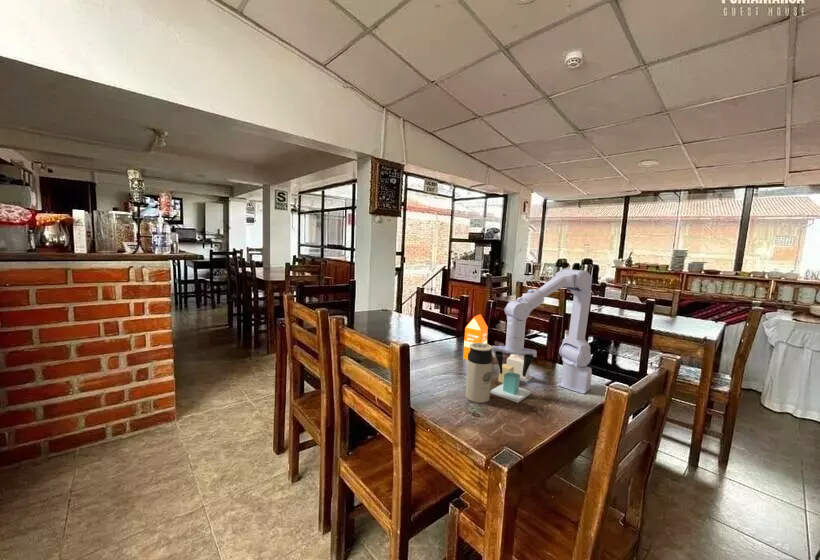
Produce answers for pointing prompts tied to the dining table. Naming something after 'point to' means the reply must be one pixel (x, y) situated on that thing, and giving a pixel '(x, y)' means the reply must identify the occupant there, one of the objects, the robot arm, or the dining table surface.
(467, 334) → the orange juice
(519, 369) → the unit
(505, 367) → the ochre block
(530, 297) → the robot arm
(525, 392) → the mat
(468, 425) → the dining table surface
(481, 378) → the travel mug
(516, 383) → the teal block
